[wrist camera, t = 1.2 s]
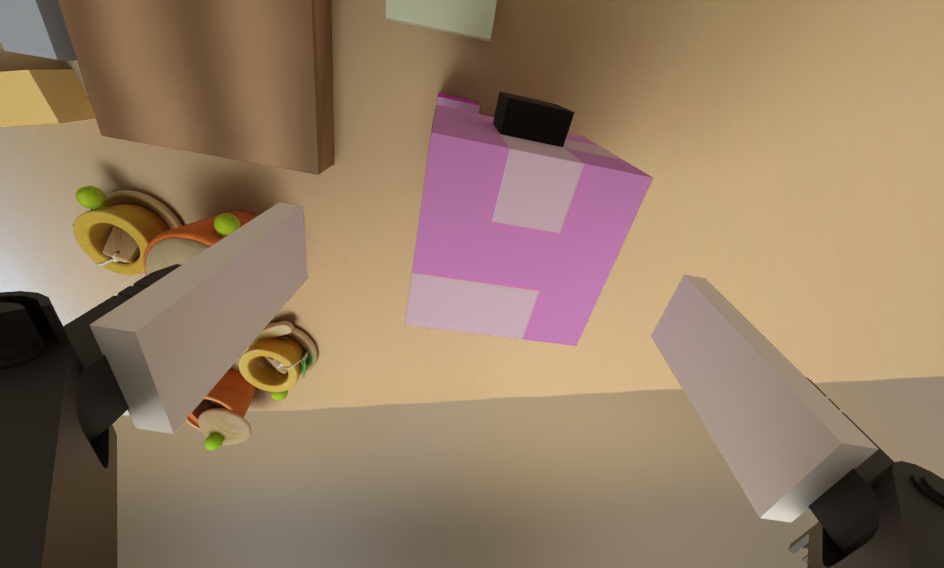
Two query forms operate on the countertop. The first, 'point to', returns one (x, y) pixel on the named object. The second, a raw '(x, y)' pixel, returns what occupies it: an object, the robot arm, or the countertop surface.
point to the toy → (517, 222)
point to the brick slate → (35, 29)
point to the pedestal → (211, 76)
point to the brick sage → (446, 16)
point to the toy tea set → (168, 243)
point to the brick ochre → (42, 97)
